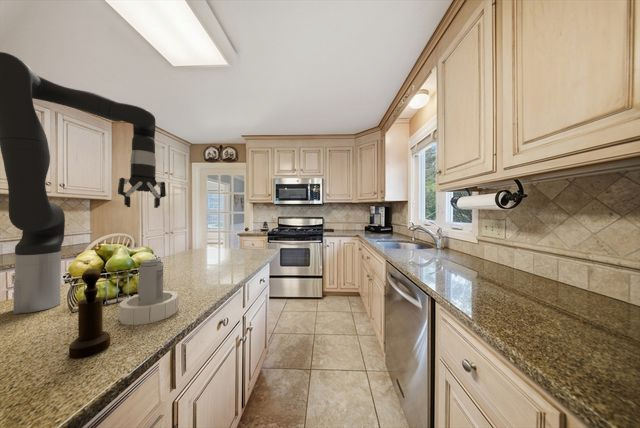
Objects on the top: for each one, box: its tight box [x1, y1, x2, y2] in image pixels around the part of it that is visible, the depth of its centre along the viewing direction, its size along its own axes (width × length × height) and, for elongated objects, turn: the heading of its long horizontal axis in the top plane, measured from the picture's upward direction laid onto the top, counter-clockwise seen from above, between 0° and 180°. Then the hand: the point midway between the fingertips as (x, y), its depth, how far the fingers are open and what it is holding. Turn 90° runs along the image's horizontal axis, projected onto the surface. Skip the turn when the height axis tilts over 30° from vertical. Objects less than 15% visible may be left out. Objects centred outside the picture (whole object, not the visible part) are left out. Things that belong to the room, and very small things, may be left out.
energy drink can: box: [137, 258, 164, 306], centre depth 70 cm, size 6×6×15 cm
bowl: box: [118, 290, 179, 326], centre depth 70 cm, size 14×14×4 cm
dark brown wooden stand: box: [68, 268, 111, 360], centre depth 52 cm, size 7×6×18 cm
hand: (142, 207), depth 88 cm, fingers open, 8 cm apart
